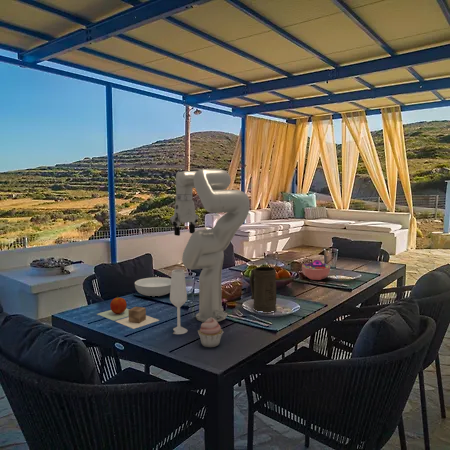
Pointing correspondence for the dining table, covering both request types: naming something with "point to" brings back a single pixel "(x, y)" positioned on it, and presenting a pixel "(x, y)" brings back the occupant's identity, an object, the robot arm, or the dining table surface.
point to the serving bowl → (153, 286)
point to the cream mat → (136, 325)
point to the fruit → (118, 305)
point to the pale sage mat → (114, 314)
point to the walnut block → (137, 314)
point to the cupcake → (210, 333)
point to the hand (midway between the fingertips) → (184, 234)
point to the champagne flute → (178, 296)
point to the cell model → (316, 270)
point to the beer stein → (263, 289)
